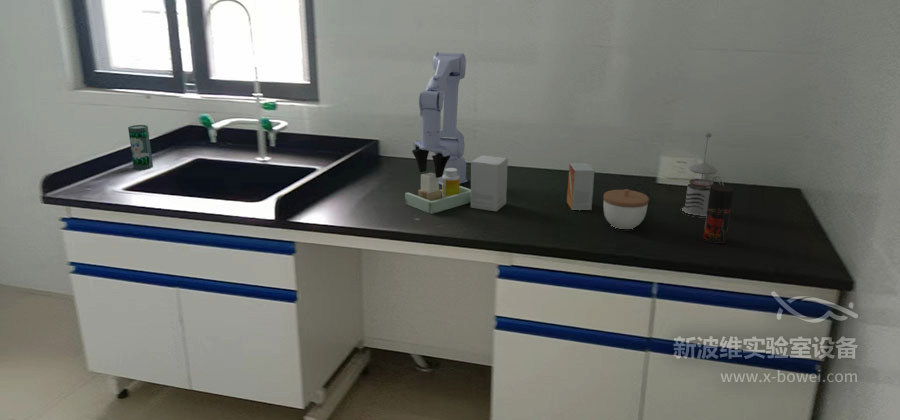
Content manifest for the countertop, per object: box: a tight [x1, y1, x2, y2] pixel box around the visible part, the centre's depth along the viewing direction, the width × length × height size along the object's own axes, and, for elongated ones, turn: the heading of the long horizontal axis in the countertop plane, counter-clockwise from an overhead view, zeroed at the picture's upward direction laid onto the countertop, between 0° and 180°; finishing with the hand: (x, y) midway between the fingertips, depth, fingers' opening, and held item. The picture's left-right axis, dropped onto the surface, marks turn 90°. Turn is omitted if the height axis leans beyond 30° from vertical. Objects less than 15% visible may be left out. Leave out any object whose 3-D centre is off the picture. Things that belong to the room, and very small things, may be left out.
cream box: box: [420, 171, 440, 193], centre depth 214 cm, size 4×4×5 cm
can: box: [127, 124, 154, 171], centre depth 249 cm, size 6×6×15 cm
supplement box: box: [470, 154, 509, 212], centre depth 214 cm, size 9×9×15 cm
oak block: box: [417, 189, 442, 201], centre depth 215 cm, size 5×5×5 cm
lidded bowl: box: [602, 188, 650, 230], centre depth 200 cm, size 13×13×11 cm
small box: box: [566, 162, 596, 212], centre depth 215 cm, size 8×6×13 cm
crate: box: [404, 185, 471, 215], centre depth 218 cm, size 18×12×4 cm
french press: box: [681, 132, 724, 216], centre depth 209 cm, size 10×12×25 cm
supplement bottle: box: [441, 168, 461, 198], centre depth 219 cm, size 6×6×10 cm
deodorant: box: [702, 184, 735, 242], centre depth 190 cm, size 6×6×15 cm
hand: (430, 174), depth 213 cm, fingers open, 7 cm apart
